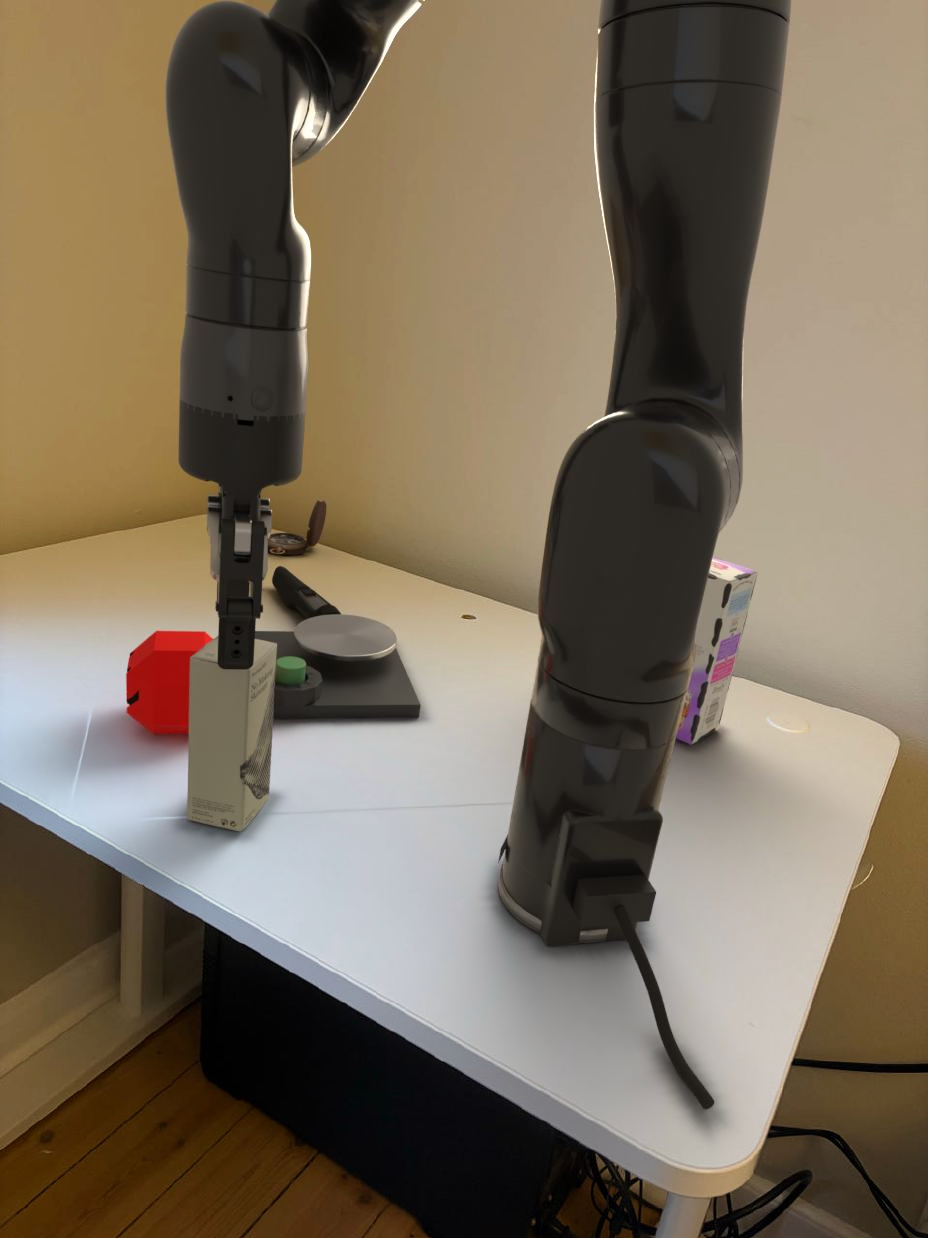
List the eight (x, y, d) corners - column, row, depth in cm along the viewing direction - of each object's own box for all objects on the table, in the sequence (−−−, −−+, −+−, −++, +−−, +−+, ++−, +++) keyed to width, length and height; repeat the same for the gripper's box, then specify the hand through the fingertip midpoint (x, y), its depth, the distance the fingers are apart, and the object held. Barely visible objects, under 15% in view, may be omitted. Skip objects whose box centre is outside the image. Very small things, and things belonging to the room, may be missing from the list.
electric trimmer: (294, 588, 110) (295, 563, 108) (350, 637, 98) (352, 610, 97) (264, 591, 108) (265, 565, 106) (317, 642, 96) (318, 613, 95)
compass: (269, 538, 125) (271, 486, 122) (326, 547, 124) (329, 495, 122) (250, 556, 117) (252, 501, 115) (311, 565, 117) (314, 510, 114)
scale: (419, 719, 83) (423, 690, 82) (258, 721, 79) (260, 691, 78) (388, 644, 97) (390, 618, 96) (250, 643, 93) (251, 616, 92)
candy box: (720, 730, 89) (762, 570, 82) (690, 748, 84) (731, 581, 78) (604, 676, 97) (633, 526, 91) (570, 690, 93) (599, 534, 86)
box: (242, 835, 64) (249, 670, 60) (184, 822, 65) (186, 657, 60) (271, 796, 69) (280, 640, 64) (217, 783, 70) (221, 628, 65)
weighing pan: (405, 662, 87) (405, 656, 87) (298, 661, 84) (298, 655, 84) (386, 620, 96) (387, 614, 96) (289, 618, 93) (289, 613, 93)
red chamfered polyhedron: (132, 701, 80) (131, 620, 77) (227, 700, 82) (229, 622, 79) (124, 748, 73) (123, 661, 70) (229, 746, 75) (232, 662, 72)
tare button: (306, 686, 81) (307, 668, 80) (276, 687, 80) (277, 668, 79) (303, 673, 83) (304, 656, 82) (274, 673, 82) (274, 655, 81)
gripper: (182, 372, 61) (178, 597, 67) (175, 416, 49) (171, 688, 55) (296, 383, 63) (282, 600, 69) (318, 428, 51) (298, 688, 57)
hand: (233, 638), depth 62 cm, fingers open, 8 cm apart
